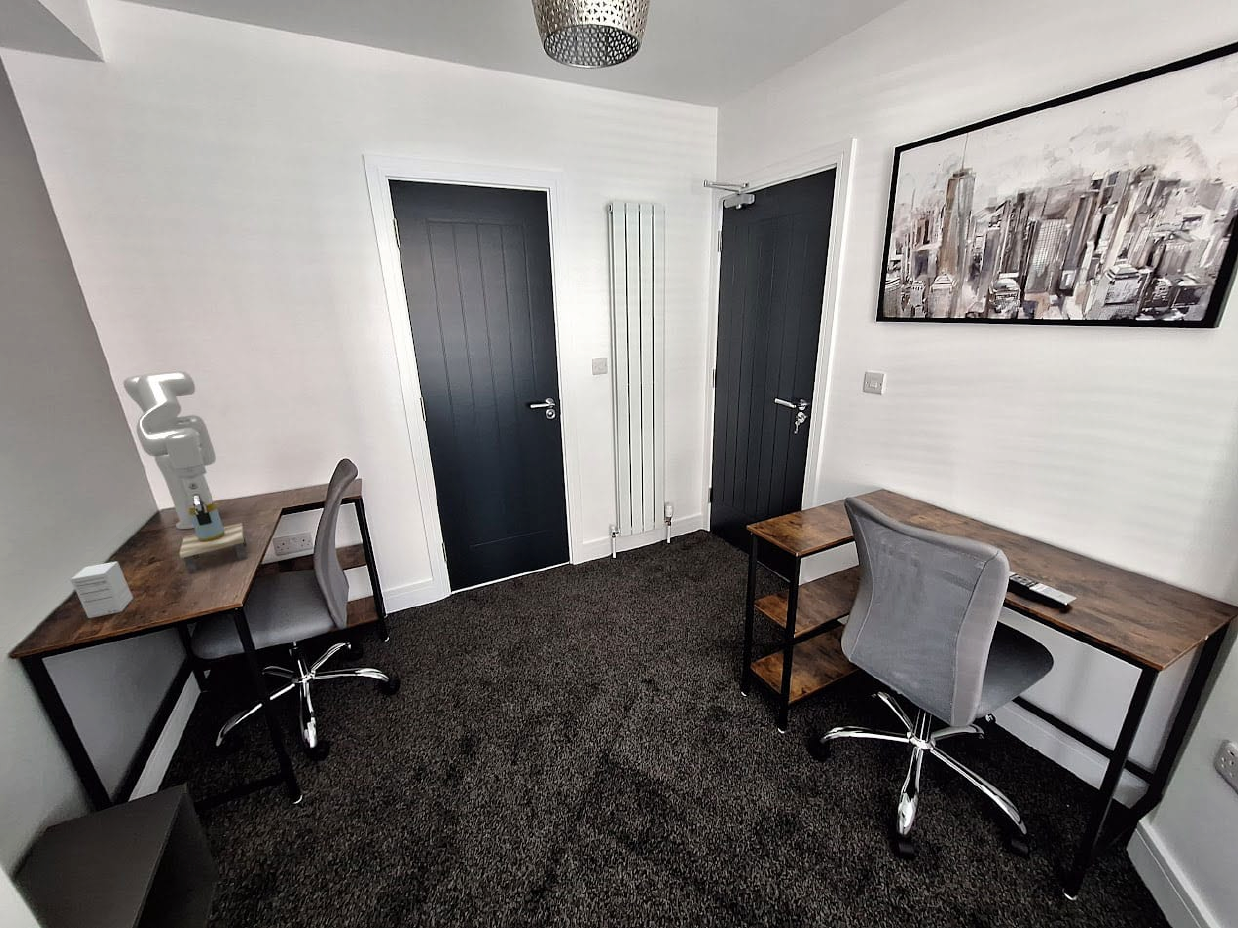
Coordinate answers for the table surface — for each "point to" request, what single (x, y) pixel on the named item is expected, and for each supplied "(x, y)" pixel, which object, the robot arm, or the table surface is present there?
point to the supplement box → (102, 589)
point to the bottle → (208, 530)
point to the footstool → (212, 545)
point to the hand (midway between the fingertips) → (206, 519)
